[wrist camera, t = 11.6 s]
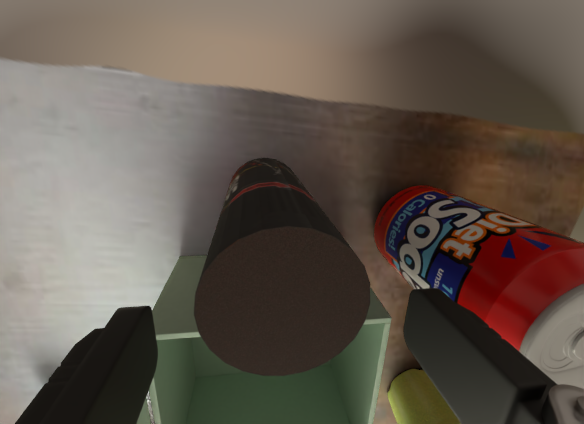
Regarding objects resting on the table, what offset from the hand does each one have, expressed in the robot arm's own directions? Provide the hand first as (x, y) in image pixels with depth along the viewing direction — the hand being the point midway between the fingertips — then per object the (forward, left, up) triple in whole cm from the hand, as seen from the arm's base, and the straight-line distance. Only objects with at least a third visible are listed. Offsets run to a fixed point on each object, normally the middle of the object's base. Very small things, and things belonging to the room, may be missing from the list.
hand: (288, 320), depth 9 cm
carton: (0, -13, -16) cm, 20 cm away
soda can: (+14, -3, -16) cm, 21 cm away
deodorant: (0, 0, -16) cm, 16 cm away
